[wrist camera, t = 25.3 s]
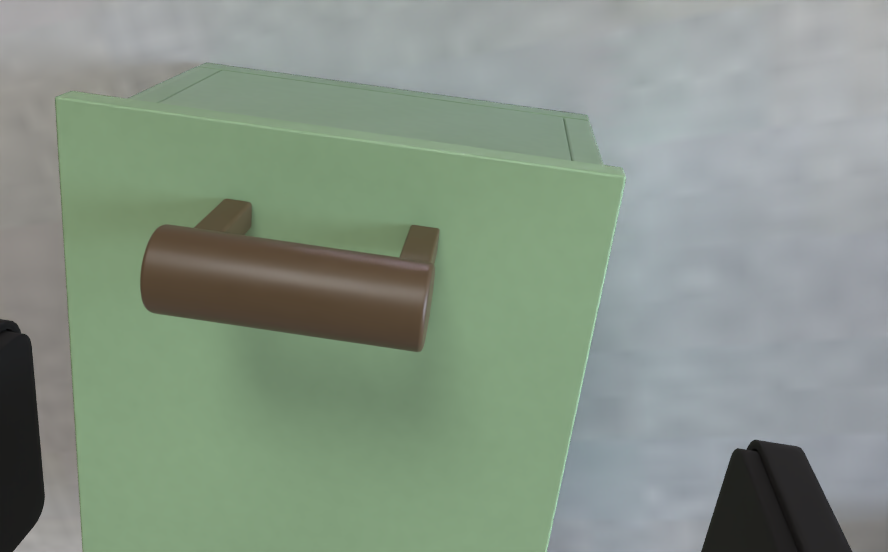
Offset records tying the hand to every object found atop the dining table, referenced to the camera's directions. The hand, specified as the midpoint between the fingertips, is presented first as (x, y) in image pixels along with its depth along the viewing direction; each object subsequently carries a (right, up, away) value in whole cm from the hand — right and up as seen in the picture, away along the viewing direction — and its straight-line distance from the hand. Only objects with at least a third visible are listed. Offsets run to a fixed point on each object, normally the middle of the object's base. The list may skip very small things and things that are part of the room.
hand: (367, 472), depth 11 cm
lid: (-2, -2, +12) cm, 13 cm away
